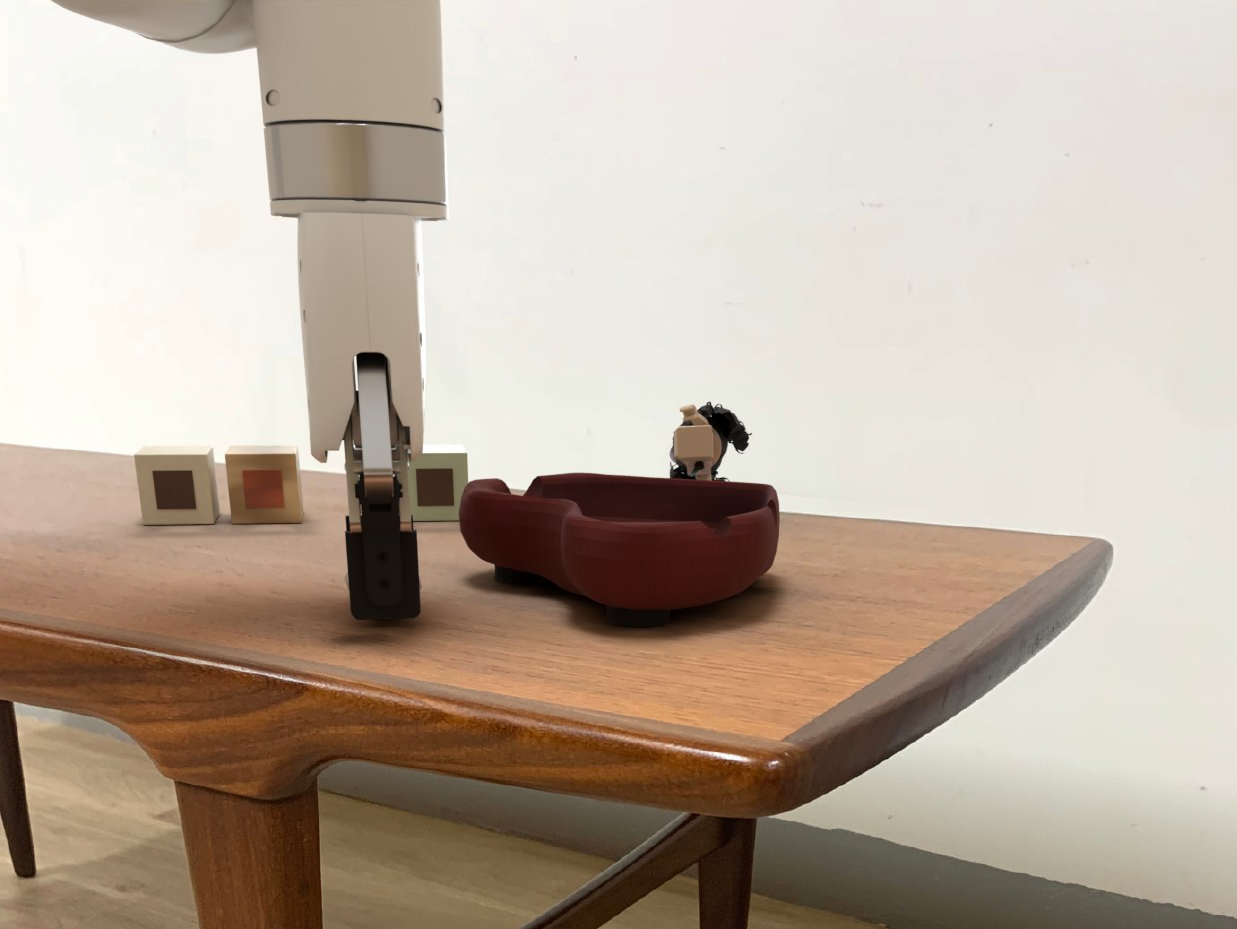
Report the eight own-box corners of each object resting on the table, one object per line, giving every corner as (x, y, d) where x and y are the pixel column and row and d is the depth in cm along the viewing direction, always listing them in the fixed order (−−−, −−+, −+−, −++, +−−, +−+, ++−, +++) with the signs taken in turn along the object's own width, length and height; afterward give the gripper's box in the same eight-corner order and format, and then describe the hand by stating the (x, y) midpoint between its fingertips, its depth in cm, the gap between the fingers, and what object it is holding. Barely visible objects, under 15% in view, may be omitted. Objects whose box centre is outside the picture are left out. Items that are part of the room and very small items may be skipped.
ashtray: (879, 603, 69) (888, 504, 67) (615, 644, 60) (616, 531, 58) (677, 546, 82) (679, 462, 80) (437, 573, 73) (432, 480, 71)
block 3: (403, 521, 89) (399, 453, 87) (401, 510, 93) (397, 444, 91) (469, 520, 89) (467, 452, 88) (464, 509, 93) (462, 444, 92)
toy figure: (664, 522, 91) (672, 491, 105) (756, 517, 91) (752, 487, 104) (658, 412, 88) (667, 395, 102) (753, 406, 88) (749, 390, 102)
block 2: (231, 524, 87) (224, 453, 85) (237, 513, 91) (230, 445, 89) (301, 523, 87) (295, 453, 86) (303, 512, 91) (298, 445, 90)
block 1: (142, 525, 85) (133, 454, 84) (152, 514, 89) (143, 446, 88) (214, 524, 86) (206, 454, 85) (220, 513, 90) (212, 445, 89)
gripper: (277, 189, 63) (310, 574, 71) (255, 163, 49) (299, 654, 56) (436, 193, 65) (452, 571, 72) (461, 170, 50) (477, 648, 57)
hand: (385, 603), depth 64 cm, fingers closed on game die, 3 cm apart
